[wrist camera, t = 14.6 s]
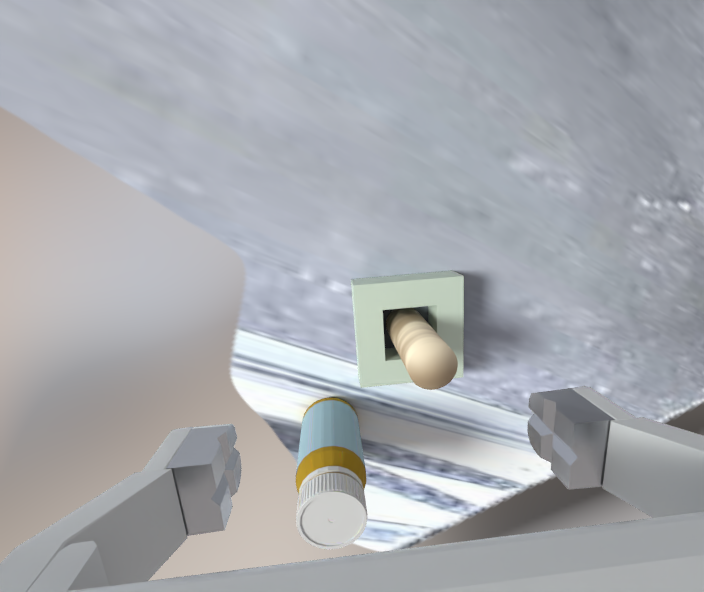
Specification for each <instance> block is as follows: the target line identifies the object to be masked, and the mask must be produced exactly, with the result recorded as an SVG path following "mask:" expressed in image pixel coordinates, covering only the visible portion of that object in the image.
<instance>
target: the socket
mask: <svg viewBox="0 0 704 592" xmlns="http://www.w3.org/2000/svg"><path fill="white" fill-rule="evenodd" d="M351 287H352V300H353V313H354V326H355V339H356V353H357V366H358V376H359V381H360V386H361V388H362V387H372V386H382V385H392V384H402V383H411V382H413V381H412V379H411V378H410V376H409V374H408V372H407V370H406V368H405V366H404V364H403V362H402V360H401V358H400V356H399V354H398V352H397V350H396V348H386V349H385V345H384V327H383V310H389V309H400V308H411V307H422V306H428V324H429V325H430V326H431V327H432V328H433V329H434V330H435V332H436V333H437V334H438V335H439V336H440V337H441V338H442V339H443V340H444V342H445V343H446V344H447V345H448V346H449V347H450V348H451V349H452V350H453V352H454V353H455V355H456V357H457V361H458V368H457V372H456V374H455V376H454V378H460V377H463V326H464V276H463V275H461V274H459V273H456V272H454V271H441V272H430V273H418V274H407V275H395V276H384V277H372V278H360V279H351Z"/></svg>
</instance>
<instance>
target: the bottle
mask: <svg viewBox="0 0 704 592" xmlns="http://www.w3.org/2000/svg"><path fill="white" fill-rule="evenodd" d="M365 484H366V470H365V463H364V456H363V450H362V443H361V436H360V429H359V423H358V418H357V414H356V412H355V410H354V408H353V407H352V406H351V405H350V404H349V403H347V402H346V401H344V400H342V399H338V398H324V399H321V400H318V401H316V402H314V403H313V404H312V405H311V406H310V407H309V408H308V409H307V410H306V412H305V414H304V417H303V422H302V428H301V437H300V446H299V454H298V463H297V471H296V486H297V490H298V493H299V497H298V504H297V515H296V524H297V529H298V531H299V533H300V535H301V537H302V538H303V539H304V540H305V541H306V542H308V543H309V544H311V545H313V546H315V547H318V548H322V549H338V548H342V547H345V546H347V545H349V544H351V543H353V542H354V541H355V540H357V539H358V538H359V537H360V536H361V534H362V533H363V531H364V529H365V527H366V523H367V509H366V501H365V495H364V488H365Z"/></svg>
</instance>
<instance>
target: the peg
mask: <svg viewBox="0 0 704 592" xmlns="http://www.w3.org/2000/svg"><path fill="white" fill-rule="evenodd" d="M386 329H387V332H388V334H389V336H390V338H391V340H392V342H393V344H394V346H395V348H396V350H397V352H398V354H399V356H400V358H401V360H402V362H403V364H404V366H405V368H406V370H407V372H408V374H409V376H410V378H411V379H412V381H413V382H414V383H415V384H416V385H417V386H419V387H421V388H424V389H429V390H432V389H438V388H441V387H443V386H445V385H447V384H448V383H449V382H450V381H451V380H452V379H453V378H454V376H455V374H456V372H457V368H458V361H457V357H456V355H455V353H454V352H453V350H452V349H451V348H450V347H449V346H448V345H447V344H446V343H445V342H444V340H443V339H442V338H441V337H440V336H439V335H438V334H437V333H436V332H435V330H434V329H433V328H432V327H431V326H430V325H429V324H428V323H427V322H426V320H425V319H424V318H423V317H422V316H421V315H420V314H419V313H418V312H417V311H416V310H415V309H414V308H400V309H394V310H393V311H392V312H391V313H390V314H389V315H388V317H387V320H386Z"/></svg>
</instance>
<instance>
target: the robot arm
mask: <svg viewBox="0 0 704 592" xmlns="http://www.w3.org/2000/svg"><path fill="white" fill-rule="evenodd" d="M529 408H530V410H531V411H532V412H533V415H532V417H531V418H530V419H529V421H528V436H529V439H530V443H531V445H532V447H533V449H534V450H535V452H536V453H537V454H538V455H539V456H540V457H541V458H543V459H545V460H547V461H549V462H551V470H552V471H553V473H554V474H555V475H556V476H557V477H558V478H559V479H560V480H561V481H562V483H563V484H564V485H565V486H566V487H567V488H568V489H577V488H589V487H601V486H603V489H605V490H607V491H608V492H610V493H612V494H613V495H615V496H617V497H619V498H620V499H622V500H624V501H625V502H627V503H629V504H631V505H632V506H634V507H635V508H637V509H639V510H641V511H642V512H644V513H646V514H647V515H649V516H651V517H652V518H649V519H642V520H633V521H625V522H617V523H609V524H600V525H592V526H585V527H576V528H569V529H560V530H552V531H544V532H537V533H528V534H520V535H513V536H505V537H497V538H488V539H481V540H472V541H465V542H457V543H449V544H441V545H434V546H425V547H417V548H409V549H401V550H393V551H385V552H377V553H370V554H361V555H353V556H345V557H338V558H329V559H321V560H313V561H305V562H296V563H289V564H280V565H272V566H264V567H256V568H248V569H240V570H233V571H224V572H217V573H209V574H201V575H192V576H184V577H176V578H168V579H161V580H152V581H148V580H149V579H150V578H151V577H152V576H153V575H154V574H155V572H156V571H157V570H158V569H159V568H160V567H161V566H162V565H163V564H164V563H165V562H166V561H167V560H168V558H169V557H170V556H171V555H172V554H173V553H174V552H175V551H176V550H177V549H178V548H179V547H180V545H181V544H182V543H183V542H184V541H185V540H186V539H187V536H189V535H196V534H203V533H210V532H216V531H223V530H225V527H226V525H227V522H228V518H229V516H230V513H231V509H232V501H231V497H232V496H233V495H234V494H235V493H236V492H237V490H238V487H239V484H240V477H241V458H240V453H239V452H238V451H237V450H236V449H235V448H234V445H235V442H236V439H237V435H236V431H235V427H234V426H233V425H232V424H224V425H212V426H201V427H188V428H179V429H174V430H172V431H171V432H170V433H169V435H168V436H167V437H166V439H165V440H164V441H163V443H162V444H161V446H160V447H159V448H158V450H157V451H156V453H155V454H154V455H153V457H152V458H151V459H150V461H149V462H148V464H147V465H146V467H145V468H144V469H143V471H142V472H137V473H134V474H132V475H131V476H129V477H127V478H126V479H125V480H123V481H121V482H119V483H118V484H116V485H115V486H113V487H112V488H110V489H108V490H107V491H105V492H103V493H102V494H100V495H99V496H97V497H96V498H94V499H92V500H91V501H89V502H88V503H86V504H84V505H83V506H81V507H80V508H78V509H76V510H75V511H73V512H72V513H70V514H69V515H67V516H65V517H64V518H62V519H60V520H59V521H57V522H56V523H54V524H52V525H51V526H49V527H48V528H46V529H44V530H43V531H41V532H40V533H38V534H37V535H35V536H33V537H32V538H30V539H29V540H27V541H25V542H24V543H22V544H21V545H19V546H17V547H16V548H15V549H14V550H13V551H12V552H11V553H10V554H9V555H8V556H7V557H6V558H5V559H4V560H3V561H2V562H1V564H0V592H704V436H702V435H699V434H696V433H693V432H689V431H686V430H683V429H679V428H676V427H673V426H670V425H666V424H663V423H660V422H657V421H653V420H650V419H647V418H644V417H639V418H636V417H635V416H633V415H632V414H630V413H629V412H627V411H626V410H624V409H623V408H621V407H620V406H618V405H617V404H615V403H614V402H612V401H610V400H609V399H607V398H606V397H604V396H603V395H601V394H600V393H598V392H597V391H595V390H594V389H592V388H591V387H586V386H582V387H575V388H568V389H561V390H554V391H546V392H538V393H532V394H531V396H530V398H529Z"/></svg>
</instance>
